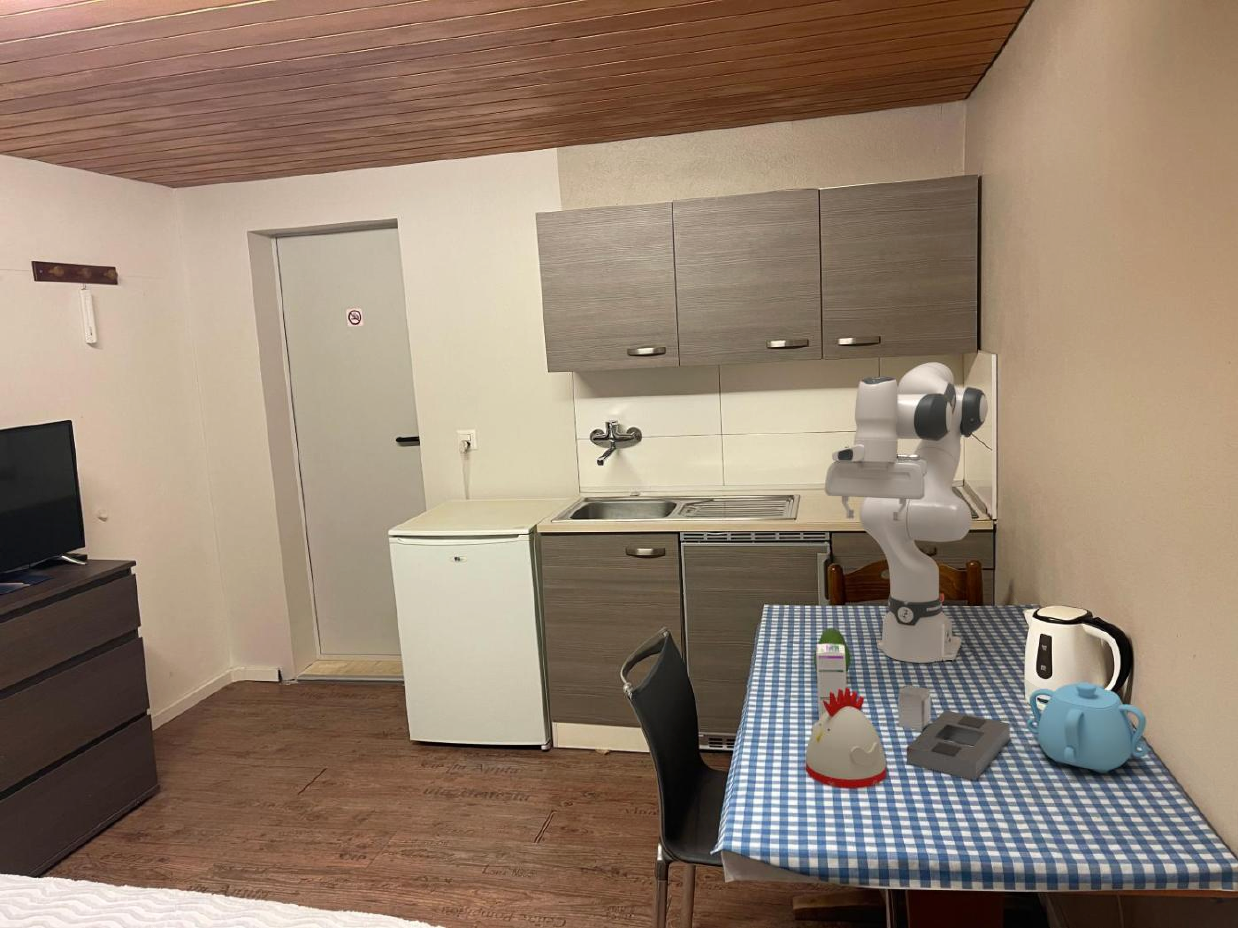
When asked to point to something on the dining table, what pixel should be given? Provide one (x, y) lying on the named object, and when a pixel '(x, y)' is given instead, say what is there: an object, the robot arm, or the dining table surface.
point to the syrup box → (830, 672)
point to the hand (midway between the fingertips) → (873, 519)
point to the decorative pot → (1087, 727)
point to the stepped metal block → (914, 707)
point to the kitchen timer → (845, 745)
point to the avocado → (834, 638)
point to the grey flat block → (954, 756)
